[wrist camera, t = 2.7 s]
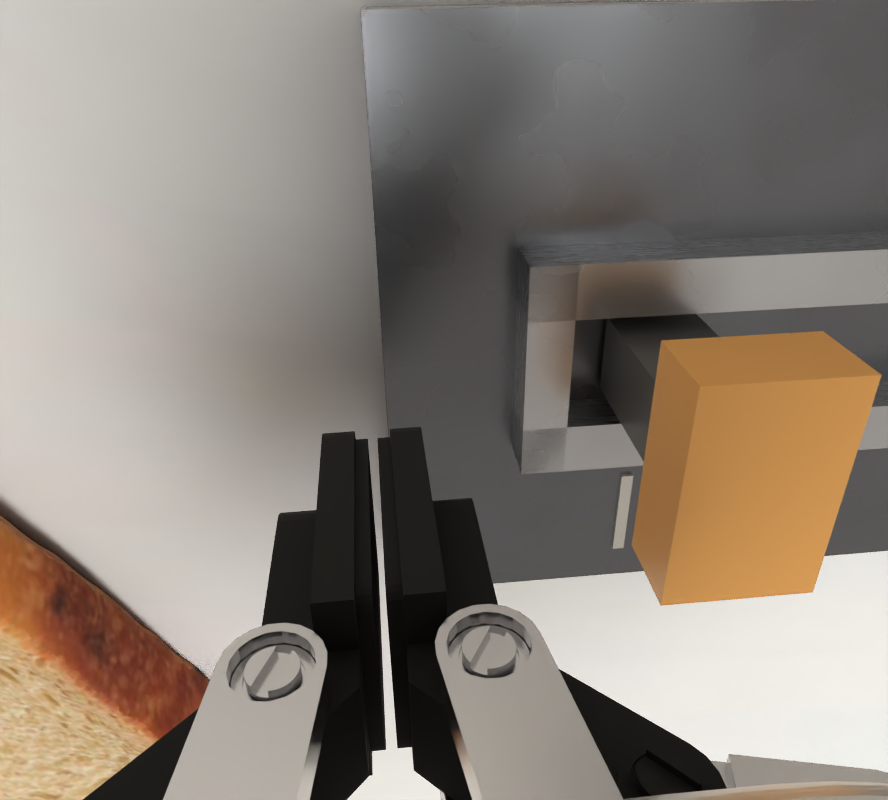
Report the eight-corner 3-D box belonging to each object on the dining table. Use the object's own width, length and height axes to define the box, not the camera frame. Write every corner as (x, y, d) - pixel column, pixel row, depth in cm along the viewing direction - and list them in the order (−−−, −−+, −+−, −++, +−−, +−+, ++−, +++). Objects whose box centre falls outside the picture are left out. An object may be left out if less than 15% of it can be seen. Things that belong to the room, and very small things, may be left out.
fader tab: (721, 254, 16) (881, 375, 11) (690, 428, 18) (812, 592, 13) (594, 261, 16) (700, 386, 11) (578, 435, 18) (660, 605, 13)
